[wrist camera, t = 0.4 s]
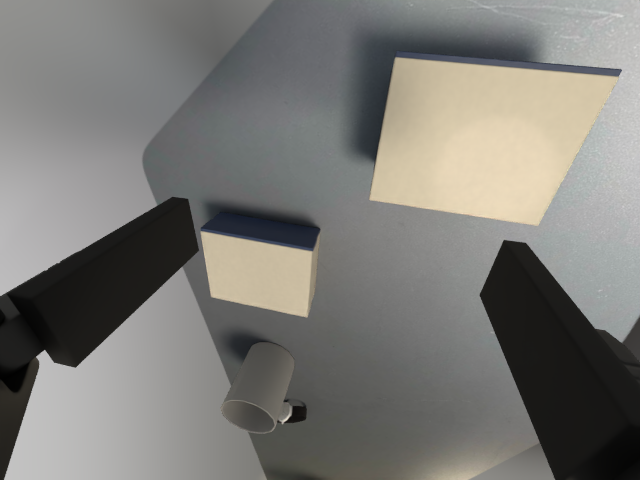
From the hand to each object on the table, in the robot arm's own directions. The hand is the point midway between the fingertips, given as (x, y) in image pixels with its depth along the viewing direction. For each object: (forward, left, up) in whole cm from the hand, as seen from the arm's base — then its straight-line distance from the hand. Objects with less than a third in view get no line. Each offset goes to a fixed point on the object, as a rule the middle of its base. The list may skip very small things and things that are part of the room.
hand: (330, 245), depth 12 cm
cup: (+38, -10, -20) cm, 44 cm away
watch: (+52, -6, -20) cm, 56 cm away
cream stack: (+16, -10, -20) cm, 27 cm away
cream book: (-2, +8, -14) cm, 17 cm away
